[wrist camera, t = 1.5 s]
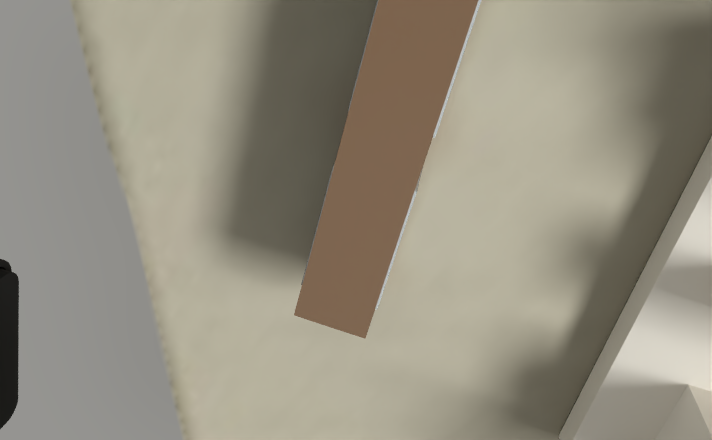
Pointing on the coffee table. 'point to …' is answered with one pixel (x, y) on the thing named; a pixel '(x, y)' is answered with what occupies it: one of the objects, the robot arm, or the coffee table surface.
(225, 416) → the coffee table surface
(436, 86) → the tall brown box
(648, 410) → the stand
